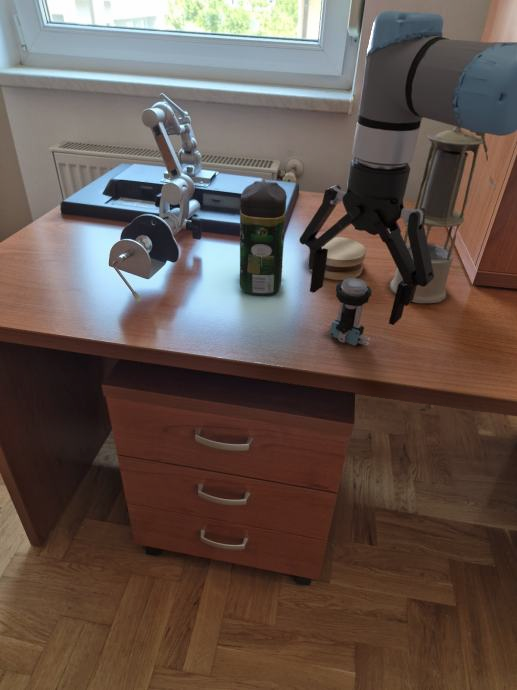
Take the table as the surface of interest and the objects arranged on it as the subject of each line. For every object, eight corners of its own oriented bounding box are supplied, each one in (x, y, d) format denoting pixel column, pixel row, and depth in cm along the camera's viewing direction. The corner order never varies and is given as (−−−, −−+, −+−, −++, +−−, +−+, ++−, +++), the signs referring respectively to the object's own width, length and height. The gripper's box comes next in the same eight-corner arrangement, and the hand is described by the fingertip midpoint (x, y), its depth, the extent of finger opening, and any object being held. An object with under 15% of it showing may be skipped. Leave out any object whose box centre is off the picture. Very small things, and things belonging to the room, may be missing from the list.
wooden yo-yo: (372, 266, 98) (376, 246, 96) (345, 286, 91) (348, 265, 88) (325, 250, 104) (327, 230, 101) (295, 268, 96) (297, 247, 94)
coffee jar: (242, 271, 94) (244, 176, 83) (282, 274, 94) (289, 179, 83) (235, 295, 86) (236, 194, 76) (279, 299, 86) (286, 197, 75)
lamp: (387, 275, 95) (423, 111, 78) (453, 281, 94) (505, 116, 77) (393, 301, 87) (434, 124, 69) (466, 307, 86) (527, 129, 68)
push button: (375, 340, 77) (387, 285, 71) (360, 355, 73) (371, 299, 67) (338, 325, 80) (347, 271, 74) (322, 339, 76) (330, 284, 70)
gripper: (490, 176, 56) (442, 324, 69) (314, 137, 68) (300, 269, 81) (469, 191, 52) (421, 347, 64) (283, 146, 64) (273, 285, 76)
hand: (353, 304), depth 73 cm, fingers open, 13 cm apart
